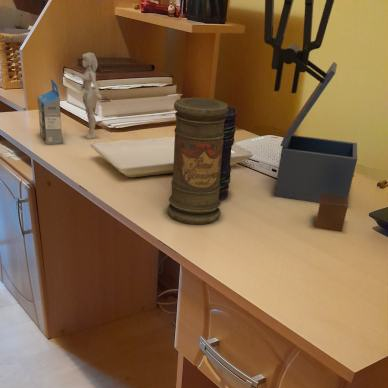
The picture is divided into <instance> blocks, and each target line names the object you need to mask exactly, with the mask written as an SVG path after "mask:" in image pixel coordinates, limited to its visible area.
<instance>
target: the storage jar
mask: <svg viewBox="0 0 388 388" xmlns="http://www.w3.org/2000/svg"><path fill="white" fill-rule="evenodd" d="M237 113H238V111H237V109H235V108H234V107H231V106H229V105H228V112H227V114H225V115H224V116H225V117H226V120H225V122H224V137H223V149H222V159H221V170H220V181H219V183H220V190H219V201H220V202H222V201H225V200H226V199H228V198H229V191H228V190H229V189H230V183H231V176H232V175H231V172H232V166H231V165H230V159H231V149H232V145H233V143H235V135H236V127H237V126H236V121H237V120H236V117H237Z"/></svg>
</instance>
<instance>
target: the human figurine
mask: <svg viewBox="0 0 388 388" xmlns="http://www.w3.org/2000/svg"><path fill="white" fill-rule="evenodd" d="M81 58H82V59H83V60H82V61H81V63H82V67H83V68H86V69H85V71H84V73H83V74H82V75H81V80H82V85H81V86H79V88H81V89H80V91H82V92H83V94H82V103H83V105H84V107H85V115H87V116H86V117H87V121H88V122H87V123H88V134H86V135H84V138H86V139H95V138H96V137H97V135H96V133H95V128H96V125H97V120H96V117H95V115H94V114H95V113H96V109H97V103H98V100H99V102H102V100H104V98H103V96H102V95H101V93H100V89H99V86H98V84H97V83H96V81H97V80H96V79H97V75H96V74H97V73H96V72H97V69H98V65H99V64H98V59H97V57H96V54H95V53H94V52H90V51H88V52H85V53H83V54H82V57H81ZM92 82H93V87H92Z"/></svg>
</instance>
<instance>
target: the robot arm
mask: <svg viewBox="0 0 388 388" xmlns="http://www.w3.org/2000/svg"><path fill="white" fill-rule="evenodd" d="M314 2H315V0H304V15H303V16H304V17H303V20H304V21H303V33H302V34H303V35H302V36H303V37H302V49H300V50H299V51H298V54H297V59H298V60H300V61H301V62H302V63H304V64H305V65H306V66H308V60H309V58H310V53H311V52H312V51H314V50H318V49H320V48H321V47H322V44H323V40H324V37H325V34H326V30H327V27H328V25H329V20H330V16H331V13H332V11H333V6H334V3H335V0H325V3H324V7H323V10H322V14H321V17H320V18H321V19H320V22H319V24H318V29H317V32H316V36H315V39H314V40H312V33H313V16H314V4H315V3H314ZM293 4H294V0H284V1H283V6H282V10H281V13H280V18H279V21H278V25H277V26H278V27H277V30H276V35H275V36H274V17H275V16H274V13H275V0H264V31H263V32H264V33H263V40H264V41H263V42H264V43H265V44H267V45H269V46H271V47H272V56H271V57H272V58H271V64H270V65H271V69H272V70H275V71H276V72H275V73H276V74H275V80H274V87H273V91H274V92H279V91H280V90H281V83H282V78H283V77H282V76H283V70H284V64H285V63H284V62H283V60H282V54H283V52H284V50H285V49H286V48H282V47H283V43H284V40H285V35H286V31H287V29H288V28H287V27H288V24H289V19H290V16H291V11H292V7H293ZM294 67H295V68H294V73H293V79H292V86H291V92H290V93H291V94H297V91H298V85H299V81H300V80H299V79H300V73H306V71H305V70H303V69H302V68H301V67H299V66H298V65H296V64H295V66H294Z"/></svg>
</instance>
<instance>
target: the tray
mask: <svg viewBox="0 0 388 388" xmlns="http://www.w3.org/2000/svg"><path fill="white" fill-rule="evenodd" d="M174 142H175V135H174V136H173V135H172V136H164V137H151V138H150V137H149V138H137V139H125V140H116V141H113V140H112V141H101V142H99V141H98V142H92V143H90V144H89V145H90V147H91V148H92V149H93V150H94V151H95V153H97V154H98V155H99V156H101V157H102V158H103V159H104V160H106V161H107V162H108V163H109V164H111V165H112V166H113V167H114V168H115V169H116V170H117V171H118V172H120V173H121V174H122V175H124V176H125V177H127V178H139V177H140V178H141V177H149V176H156V175H157V176H158V175H159V176H160V175H166V174H167V175H168V174H173V167H174ZM231 150H232V151H234V152H235V153H231V159H230V165H231V167H233V166H235V164H239V163H241V162H244V161H246V160H249V159H251V158H252V157H253V156H254V153H253V152H251V151H249V150H248V149H246V148H244V147H242V146H240V145H238V144H236V143H235V142H234V143H233V145H232V149H231Z"/></svg>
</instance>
